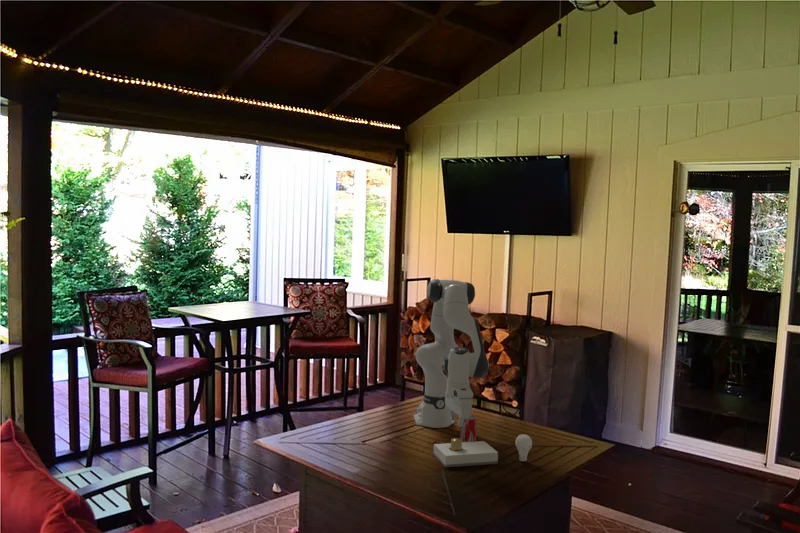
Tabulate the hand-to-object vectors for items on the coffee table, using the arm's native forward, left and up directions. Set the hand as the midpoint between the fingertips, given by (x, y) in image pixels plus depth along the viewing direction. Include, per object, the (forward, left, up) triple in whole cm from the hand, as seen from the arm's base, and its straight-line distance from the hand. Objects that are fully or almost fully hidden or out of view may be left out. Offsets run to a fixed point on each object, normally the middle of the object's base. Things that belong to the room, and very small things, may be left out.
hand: (456, 423), depth 251 cm
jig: (0, +4, -15) cm, 15 cm away
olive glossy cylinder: (0, 0, -14) cm, 14 cm away
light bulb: (+7, +26, -15) cm, 31 cm away
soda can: (-17, +12, -15) cm, 26 cm away
